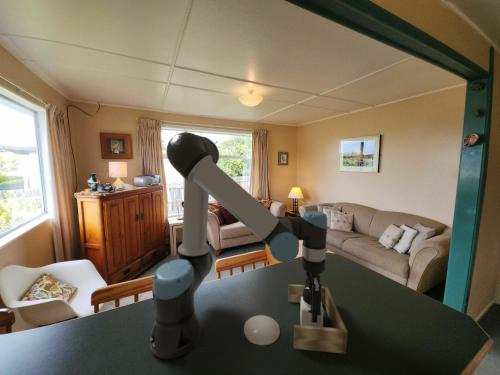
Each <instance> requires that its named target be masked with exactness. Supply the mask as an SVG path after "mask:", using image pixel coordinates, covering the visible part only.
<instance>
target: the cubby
mask: <svg viewBox="0 0 500 375" xmlns="http://www.w3.org/2000/svg"><path fill="white" fill-rule="evenodd" d="M321 286H322V287H321V301H322V305H324V308H325V310H326V313H327V315H328V318H329V321H330V324H331V326H332V327H326V326H325V327H324V326H323V327H313V326H302V325H301V324H299V325H298V324H294V325H293V349H295V350H305V351H313V352H315V351H316V352H322V353H323V352H324V353H325V352H326V353H337V354H343V355H344V354H345V355H346V354H347V345H348V344H347V342H348V330H347V328H346V325H345V324H344V322H343V319H342V317H341V314H340V312H339V311H338V310H339V309H338V307H337V305H336V303H335V300H334V299H333V297H332V295H331V292H330V290H329V287H328V286H323V285H321ZM304 289H305V284H291V283H290V284H289V283H288V292H287V293H288V297H287V298H288V303H300V304H301V297H303V290H304Z"/></svg>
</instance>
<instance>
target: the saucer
mask: <svg viewBox="0 0 500 375" xmlns="http://www.w3.org/2000/svg"><path fill="white" fill-rule="evenodd" d="M243 334H244V335H245V338H246V339H247V340H248V341H249V342H250V343H251V344H254V345H257V346H268V345H272V344H273V343H275V342H276V341H277V340H278V339H279V337H280V334H281V329H280V325H279V323H278V322H277V321H276V320H275V319H273V318H272V317H270V316H267V315H263V314H262V315H260V314H258V315H255V316H252V317H250V318H248V319H247V320H246V321H245V323H244V325H243Z"/></svg>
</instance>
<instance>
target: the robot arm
mask: <svg viewBox="0 0 500 375" xmlns="http://www.w3.org/2000/svg"><path fill="white" fill-rule="evenodd" d="M166 156H167V160H168V162H169V164H171V166H172V167H173V168H174V170H175V171H176V172H178V173H179V174H180V175H181V177H182V178H183V179H184V184H183V185H184V187H183V188H184V191H183V193H184V195H183V214H182V215H183V217H182V218H183V219H182V221H183V222H182V243H181V244H180V245H179V246H178V247H177V255H176V256H177V258H176V259H173V260H170V261H169V262H165V263H163V264H162V265H160V266H159V267H158V268H157V269H156V271H155V272H154V275H153V277H152V278H153V280H152V292H153V305H154V306H153V309H154V323H153V326H152V329H151V333H150V336H149V346H150V347H149V348H150V351H151V353H152V355H154V356H155V357H157V358H158V359H162V360H172V359H177V358H179V357H182V356H184V355H186V354H188V353H189V352H190V351H191V350H192V349H194V347H195V346H196V345H197V344H198V342H199V340H200V338H201V334H202V332H201V322H200V320H199V317H198V315H197V313H196V310H195V293H196V291H197V290H198V288H200V286H201V284H202V283H203V281H205V280H204V279H205V278H206V277H207V276H208V275H209V274H210V272H211V269H212V267H213V263H214V259H213V258H214V257H213V254H212V252H211V246H210V244H208V243H207V238H208V237H207V236H208V216H209V199H210V197H209V196H211V198H213V199H214V200H215V201H216V202H217V203H219V204H220V205H221V206H222V207H223V208H224V209H226V211H228V213H230V214H231V215H232V216H234V217H235V219H237V220H238V221H239V222H240V223H241V224H242V225H244V227H246V228H247V229H248V230H250V231H251V232H252V233H253V234H254V235H255V236H256V237H257V238H259V239H260V240H261V241H262V242H264V244H265V245H266V246H267V247H269V251H270V254H271V256H272V257H273V259H275V260H276V261H277V262H280V263H290V262H292V261H294V260H295V259H296V258H297V256H298V254H299V251H300V242H299V241H302V248H301V251H302V252H301V255H302V257H301V267H302V269H303V270H304V271H305V279H304V281H305V282H304V285H305V288H307V287H309V289H310V303H311V310H308V312H309V313H310V316H309V326H313V327H318V317H319V316H321V287H322V286H323V285H322V284H321V276H320V274H323V273H324V272H325V270H326V254H327V252H328V248H327V236H328V216H327V214H326V213H324V212H322V211H318V210H310V211H309V210H307V211H304V212H303V216H302V217H298V216H297V217H293V216H280V215H274V213H272V212H271V211H270V210H269V209H267V208H266V206H264V205H263V204H262V203H261V202H260V201H258V200H257V199H256V198H255V197H254V196H253V195H251V194H250V193H249V191H247V190H246V189H245V188H244V187H242V186H241V185H240V184H239V183H238V182H237V181H236V180H234V179H233V178H232V177H230V175H228V174H227V172H225V171H224V170H223V169H222V168H220V167H219V166H218V165H217V164H218V163H219V160H220V159H219V158H220V151H219V148H218V146H217V145H216V143H215V142H214V141H212V140H211V139H209V138H208V137H206V136H202V135H198V134H195V133H192V132H188V131H187V132H184V131H183V132H179V133H177V134H175V135H174V136H172V137H171V139H170V140H169V141H168V143H167V146H166Z"/></svg>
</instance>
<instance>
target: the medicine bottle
mask: <svg viewBox="0 0 500 375" xmlns="http://www.w3.org/2000/svg"><path fill="white" fill-rule="evenodd" d="M299 307H300V309H299V316H300V317H299V319H300V325H302V326H309V316H310V313H309V312H308V310H311V303H310V289H309V287H307V288H305V289H304V290H303V297H301V303H300V306H299ZM324 316H325V312H324V307H323V304H322V301H321V316H319V317H318V327H324V318H325V317H324Z"/></svg>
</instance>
